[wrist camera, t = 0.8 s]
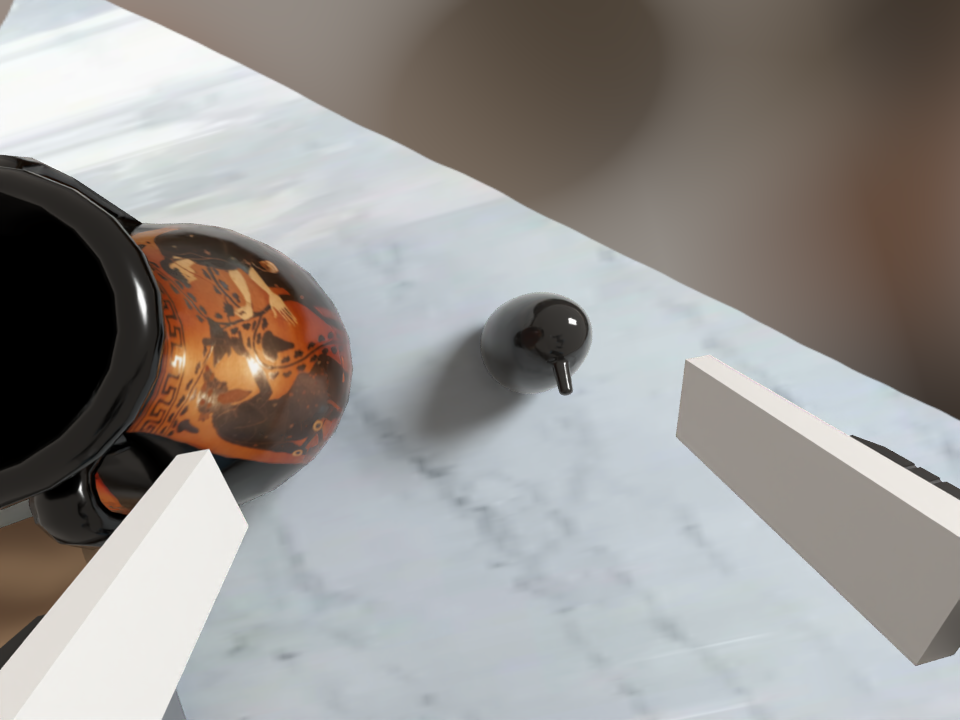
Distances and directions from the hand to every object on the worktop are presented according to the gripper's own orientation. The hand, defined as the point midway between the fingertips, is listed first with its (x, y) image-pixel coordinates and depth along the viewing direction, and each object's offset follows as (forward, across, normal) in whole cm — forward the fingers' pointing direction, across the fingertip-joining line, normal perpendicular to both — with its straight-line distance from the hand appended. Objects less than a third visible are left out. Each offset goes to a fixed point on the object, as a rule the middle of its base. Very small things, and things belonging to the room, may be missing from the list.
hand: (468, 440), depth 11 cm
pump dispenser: (+32, -9, +13) cm, 35 cm away
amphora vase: (+31, +19, +10) cm, 38 cm away
